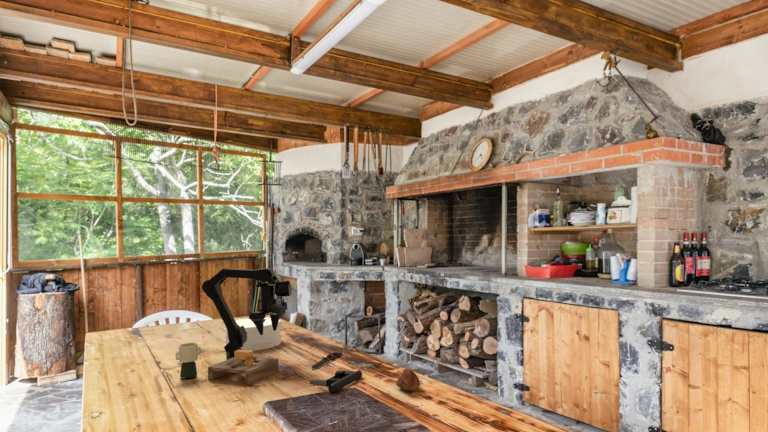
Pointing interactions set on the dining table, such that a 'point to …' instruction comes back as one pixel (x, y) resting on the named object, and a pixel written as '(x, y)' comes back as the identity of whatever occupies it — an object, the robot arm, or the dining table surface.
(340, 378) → the door handle
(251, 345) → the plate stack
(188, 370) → the character mug
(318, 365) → the knife
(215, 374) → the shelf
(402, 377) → the fossil
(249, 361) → the tall grooved wooden block
